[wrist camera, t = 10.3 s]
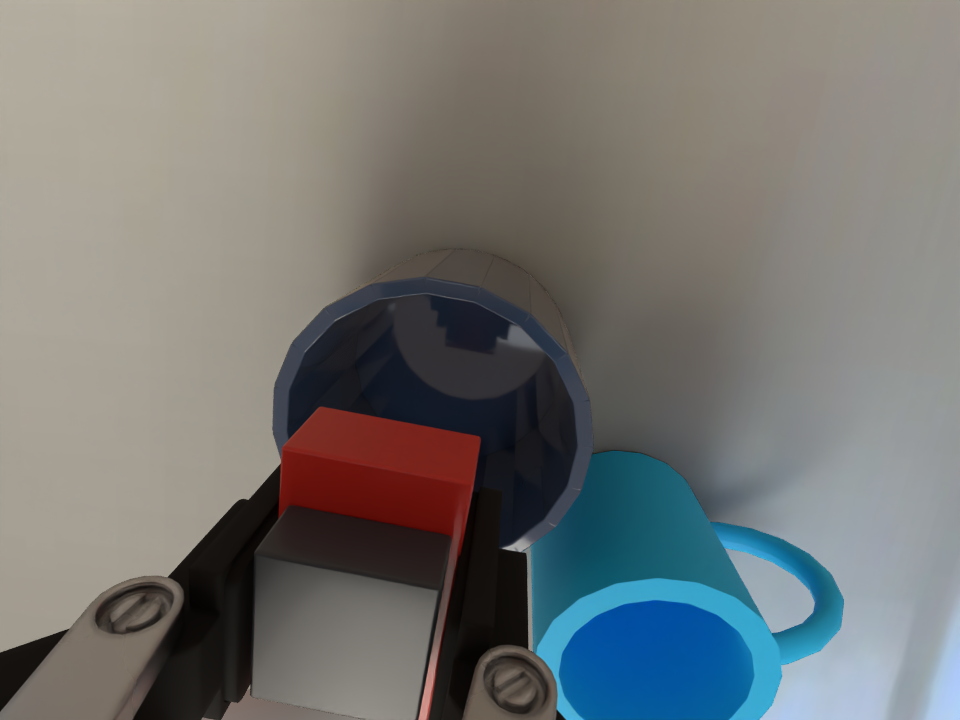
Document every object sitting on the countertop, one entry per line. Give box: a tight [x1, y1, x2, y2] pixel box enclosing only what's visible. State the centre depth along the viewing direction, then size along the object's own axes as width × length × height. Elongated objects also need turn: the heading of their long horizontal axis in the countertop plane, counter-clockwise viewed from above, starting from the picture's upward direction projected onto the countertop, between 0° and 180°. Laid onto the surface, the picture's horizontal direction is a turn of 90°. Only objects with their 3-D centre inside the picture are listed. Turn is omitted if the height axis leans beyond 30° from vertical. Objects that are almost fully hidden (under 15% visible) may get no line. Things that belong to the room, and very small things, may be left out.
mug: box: [531, 451, 844, 720], centre depth 21 cm, size 12×8×8 cm
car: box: [250, 407, 481, 720], centre depth 10 cm, size 6×3×4 cm, turn 170°
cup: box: [272, 249, 594, 552], centre depth 19 cm, size 10×10×8 cm
